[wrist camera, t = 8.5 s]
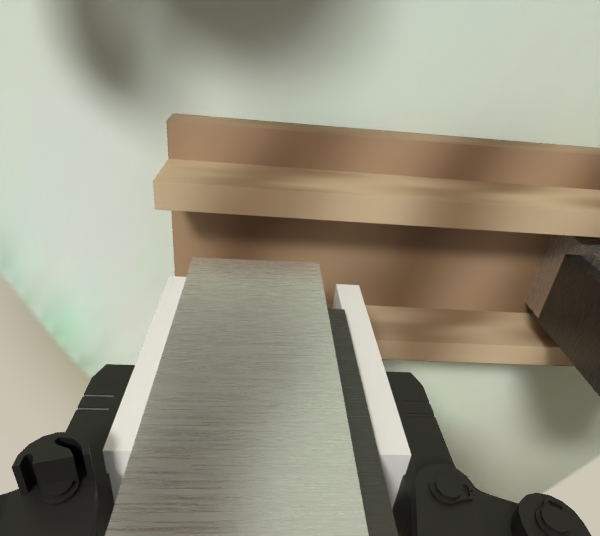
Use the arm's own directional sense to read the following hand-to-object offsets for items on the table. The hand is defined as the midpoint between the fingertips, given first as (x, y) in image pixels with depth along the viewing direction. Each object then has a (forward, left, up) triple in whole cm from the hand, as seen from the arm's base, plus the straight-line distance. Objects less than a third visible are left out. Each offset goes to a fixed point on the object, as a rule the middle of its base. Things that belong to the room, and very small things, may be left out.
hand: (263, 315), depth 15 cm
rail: (-7, 0, -6) cm, 9 cm away
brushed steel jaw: (0, 0, 0) cm, 0 cm away
